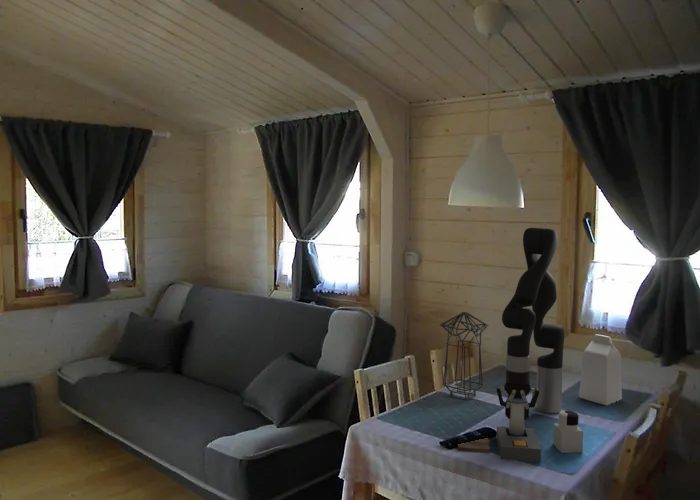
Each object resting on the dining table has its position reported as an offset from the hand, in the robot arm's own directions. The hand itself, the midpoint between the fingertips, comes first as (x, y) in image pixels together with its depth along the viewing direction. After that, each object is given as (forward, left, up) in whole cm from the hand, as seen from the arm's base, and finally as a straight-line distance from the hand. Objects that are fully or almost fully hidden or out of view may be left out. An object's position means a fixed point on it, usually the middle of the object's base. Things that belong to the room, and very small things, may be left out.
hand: (516, 418), depth 196 cm
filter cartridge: (0, 0, -5) cm, 5 cm away
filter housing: (+4, 0, -9) cm, 10 cm away
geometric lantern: (-48, -16, -9) cm, 51 cm away
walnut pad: (+3, -14, -9) cm, 17 cm away
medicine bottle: (+1, +16, -9) cm, 18 cm away
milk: (-53, +39, -9) cm, 66 cm away
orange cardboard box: (+10, 0, -8) cm, 13 cm away
